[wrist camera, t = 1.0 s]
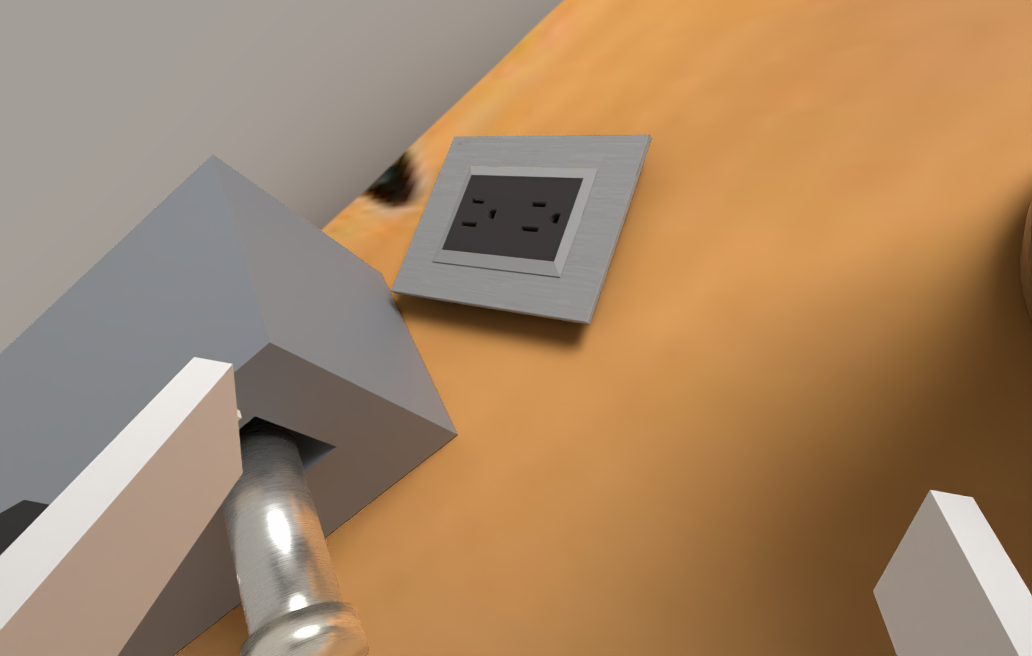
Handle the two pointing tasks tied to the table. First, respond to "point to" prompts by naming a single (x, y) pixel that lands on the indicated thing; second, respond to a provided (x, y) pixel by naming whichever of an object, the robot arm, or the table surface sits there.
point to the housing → (231, 339)
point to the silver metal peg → (284, 555)
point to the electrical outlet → (524, 223)
